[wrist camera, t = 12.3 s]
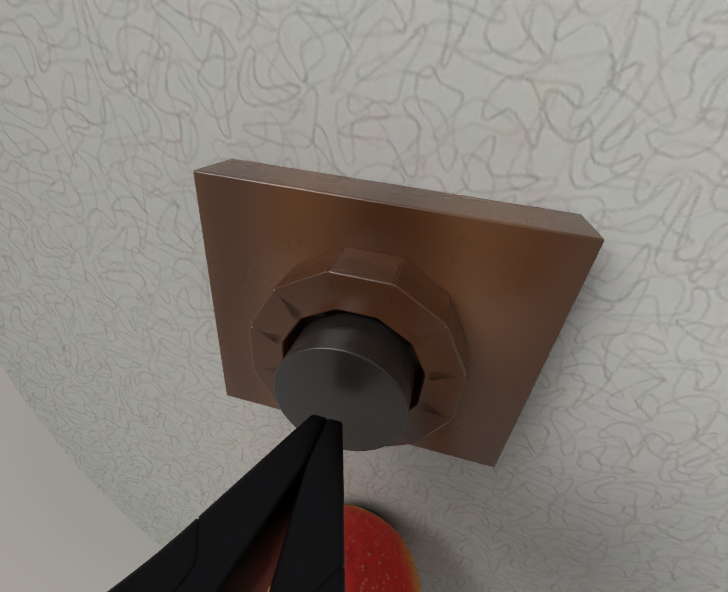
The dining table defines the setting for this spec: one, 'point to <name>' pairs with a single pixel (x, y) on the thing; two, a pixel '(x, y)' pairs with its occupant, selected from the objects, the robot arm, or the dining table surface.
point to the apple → (376, 555)
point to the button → (348, 379)
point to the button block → (393, 288)
